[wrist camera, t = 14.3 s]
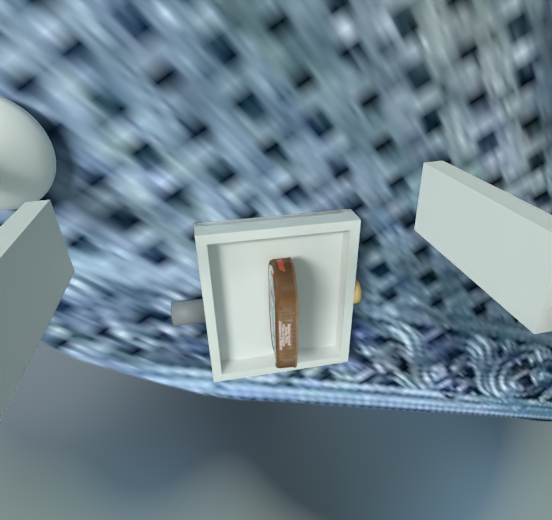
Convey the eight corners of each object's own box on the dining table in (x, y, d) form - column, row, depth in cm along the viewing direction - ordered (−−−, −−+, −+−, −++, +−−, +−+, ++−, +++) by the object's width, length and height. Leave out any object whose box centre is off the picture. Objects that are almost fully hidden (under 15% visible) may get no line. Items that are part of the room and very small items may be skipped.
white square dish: (358, 208, 51) (369, 219, 48) (346, 344, 62) (354, 360, 59) (159, 226, 47) (157, 240, 44) (184, 368, 58) (184, 387, 55)
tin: (287, 338, 57) (302, 381, 50) (266, 341, 57) (277, 385, 50) (287, 244, 50) (304, 279, 43) (262, 247, 50) (275, 283, 42)
